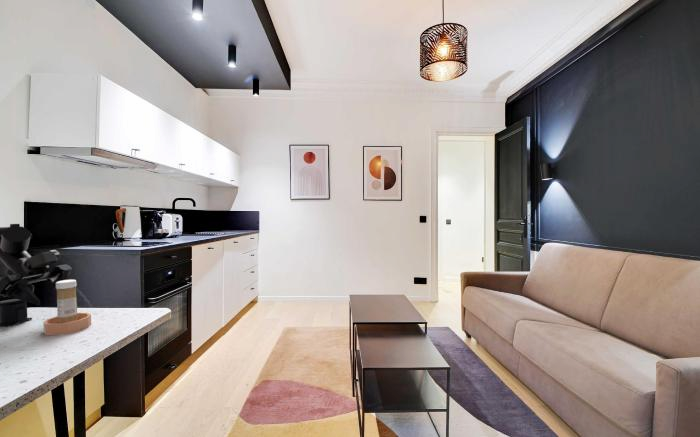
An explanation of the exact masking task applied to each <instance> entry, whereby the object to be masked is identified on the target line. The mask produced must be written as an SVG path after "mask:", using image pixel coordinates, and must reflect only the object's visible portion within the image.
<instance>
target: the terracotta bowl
mask: <svg viewBox="0 0 700 437" xmlns="http://www.w3.org/2000/svg"><path fill="white" fill-rule="evenodd" d="M91 325H92V314H91V313H89V312H77V320H76V321H72V322H67V323H59V324H58V315H57V316H54V317H50V318H47V319H46V320H44V321H43V334H44V335H45V336H59V335H67V334H71V333H76V332H80V331H83V330H85V329H87V327H88V328H89V327H90V326H91Z"/></svg>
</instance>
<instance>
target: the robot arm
mask: <svg viewBox="0 0 700 437" xmlns="http://www.w3.org/2000/svg"><path fill="white" fill-rule="evenodd" d="M32 239H33V234H32V233H31V231H30V230H29V229H27V228H26V227H24V226H21V225H20V223H10V224H9V226H4V227H0V327H13V326H15V325H18V324H20V323H24V322H29V321H32V320H33V317H28V306H27V303H29V304H32V305H36V306H38V305H40V304H41V301H40V299H39V298H38V296H37V295H36V294H35V292H34V291H35V285H33V284H32V283H37V282H41V281H46V282H47V283H48V284H49V286H50V287H52V288H54V289H55V290H57V289H56V282H58V281H63V280H68V276H69V275H70V274H71V272H72V271H73V268H72V267H71V266H70V265H69V264H60V265H55V266H54V267H53V268H52V269H51V270H50V271H48V270H49V268H50V265H51V264H54V263H58V261H59V260H60V259H61V258H62V257H61V256H62V255H61V254H60V252H59V251H58V250H56V249H52V250H51V249H50V250H49V251H47V252H46V251H45V252H40V253H37V254H36V255H35V254H34V255H33V256H32V255H31V254H30V253H29V252H28V251H27V250H28V248H29V245H30V241H31V240H32ZM46 271H48V272H46Z"/></svg>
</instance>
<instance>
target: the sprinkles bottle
mask: <svg viewBox="0 0 700 437" xmlns="http://www.w3.org/2000/svg"><path fill="white" fill-rule="evenodd" d="M77 286H78V284H77V280H76V279H67V280H63V281H58V282H56V289H55V290H56V304H57V305H56V311H57V316H58V324H59V323H67V322H72V321H76V320H77V313H78V303H77Z"/></svg>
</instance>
